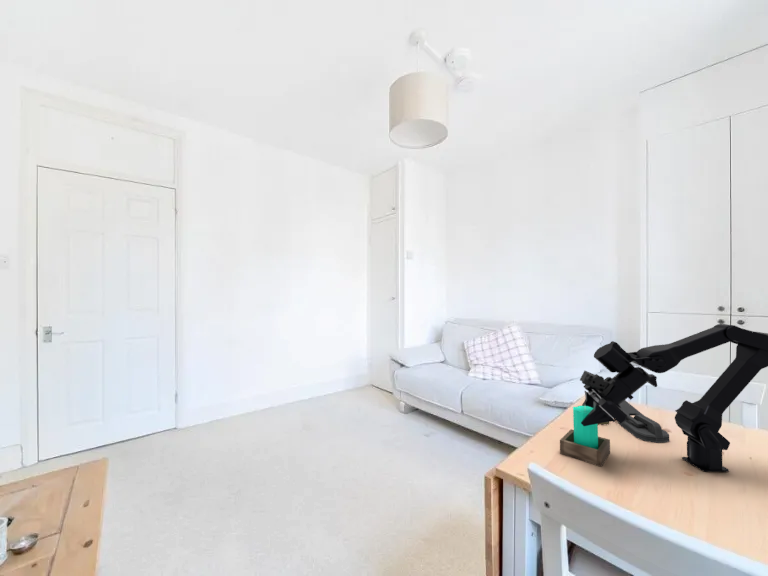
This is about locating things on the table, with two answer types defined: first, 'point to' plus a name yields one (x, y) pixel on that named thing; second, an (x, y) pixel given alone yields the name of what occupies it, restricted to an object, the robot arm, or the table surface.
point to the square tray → (585, 449)
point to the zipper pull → (642, 425)
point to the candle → (584, 428)
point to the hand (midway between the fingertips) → (579, 420)
